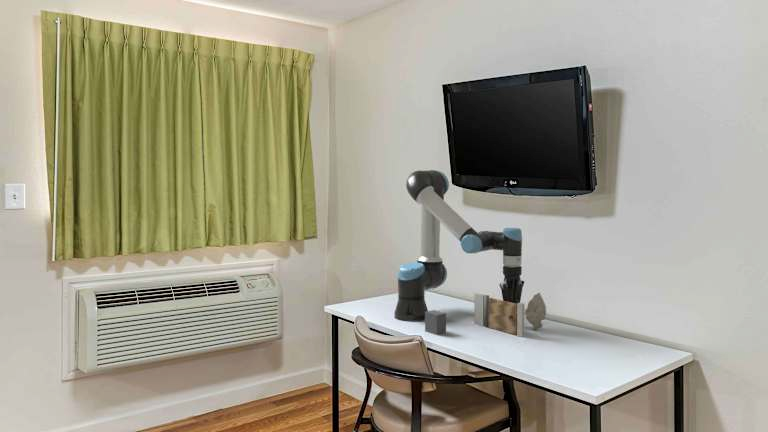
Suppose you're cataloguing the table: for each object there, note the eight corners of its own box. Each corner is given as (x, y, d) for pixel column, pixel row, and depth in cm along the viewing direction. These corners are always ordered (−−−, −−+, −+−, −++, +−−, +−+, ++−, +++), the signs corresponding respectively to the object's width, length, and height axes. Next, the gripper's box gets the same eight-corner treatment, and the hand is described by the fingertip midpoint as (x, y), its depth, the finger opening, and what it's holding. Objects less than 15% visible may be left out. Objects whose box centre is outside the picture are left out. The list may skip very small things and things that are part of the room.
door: (486, 327, 243) (486, 298, 242) (490, 326, 244) (490, 297, 243) (514, 335, 231) (514, 305, 230) (518, 334, 233) (518, 304, 232)
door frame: (473, 323, 250) (474, 293, 249) (477, 323, 251) (477, 292, 250) (521, 337, 229) (521, 304, 228) (524, 336, 231) (525, 303, 230)
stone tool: (529, 332, 235) (529, 295, 234) (522, 330, 239) (523, 294, 237) (549, 329, 241) (550, 292, 240) (543, 327, 244) (543, 291, 243)
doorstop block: (425, 331, 239) (424, 311, 239) (434, 329, 242) (434, 310, 242) (436, 335, 234) (436, 315, 233) (445, 333, 237) (445, 313, 236)
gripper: (508, 268, 237) (508, 326, 239) (529, 265, 245) (529, 321, 246) (494, 265, 243) (494, 322, 245) (515, 262, 251) (515, 317, 252)
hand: (511, 321), depth 246 cm, fingers closed
